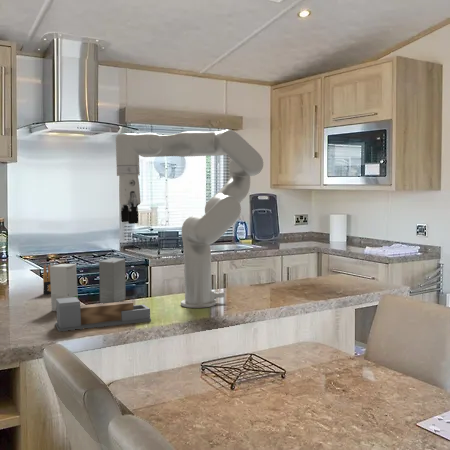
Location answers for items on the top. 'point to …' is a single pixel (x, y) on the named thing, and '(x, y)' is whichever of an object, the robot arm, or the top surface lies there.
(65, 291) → the skincare box
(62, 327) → the endcap board
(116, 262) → the skincare box
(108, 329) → the top surface
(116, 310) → the slat
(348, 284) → the top surface
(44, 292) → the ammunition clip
